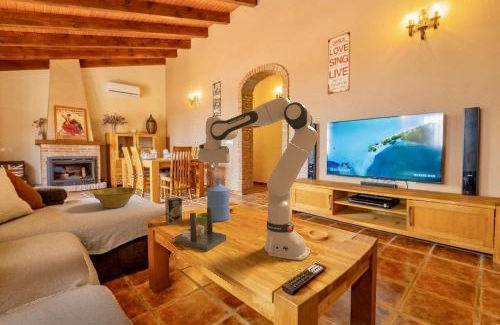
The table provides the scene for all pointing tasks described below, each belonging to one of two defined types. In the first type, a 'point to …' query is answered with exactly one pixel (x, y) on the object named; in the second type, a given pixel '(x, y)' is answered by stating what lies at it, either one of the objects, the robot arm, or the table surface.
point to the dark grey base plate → (201, 239)
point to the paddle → (198, 231)
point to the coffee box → (173, 210)
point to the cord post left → (193, 226)
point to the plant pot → (202, 219)
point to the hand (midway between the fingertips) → (213, 170)
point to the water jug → (219, 201)
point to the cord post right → (209, 220)
